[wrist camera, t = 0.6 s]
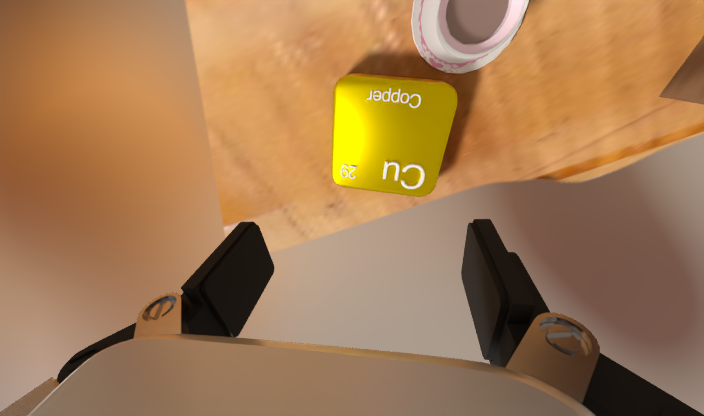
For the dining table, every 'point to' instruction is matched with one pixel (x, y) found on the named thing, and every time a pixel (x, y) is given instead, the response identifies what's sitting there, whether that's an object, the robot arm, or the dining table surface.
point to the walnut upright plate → (689, 79)
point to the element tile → (390, 132)
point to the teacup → (464, 31)
